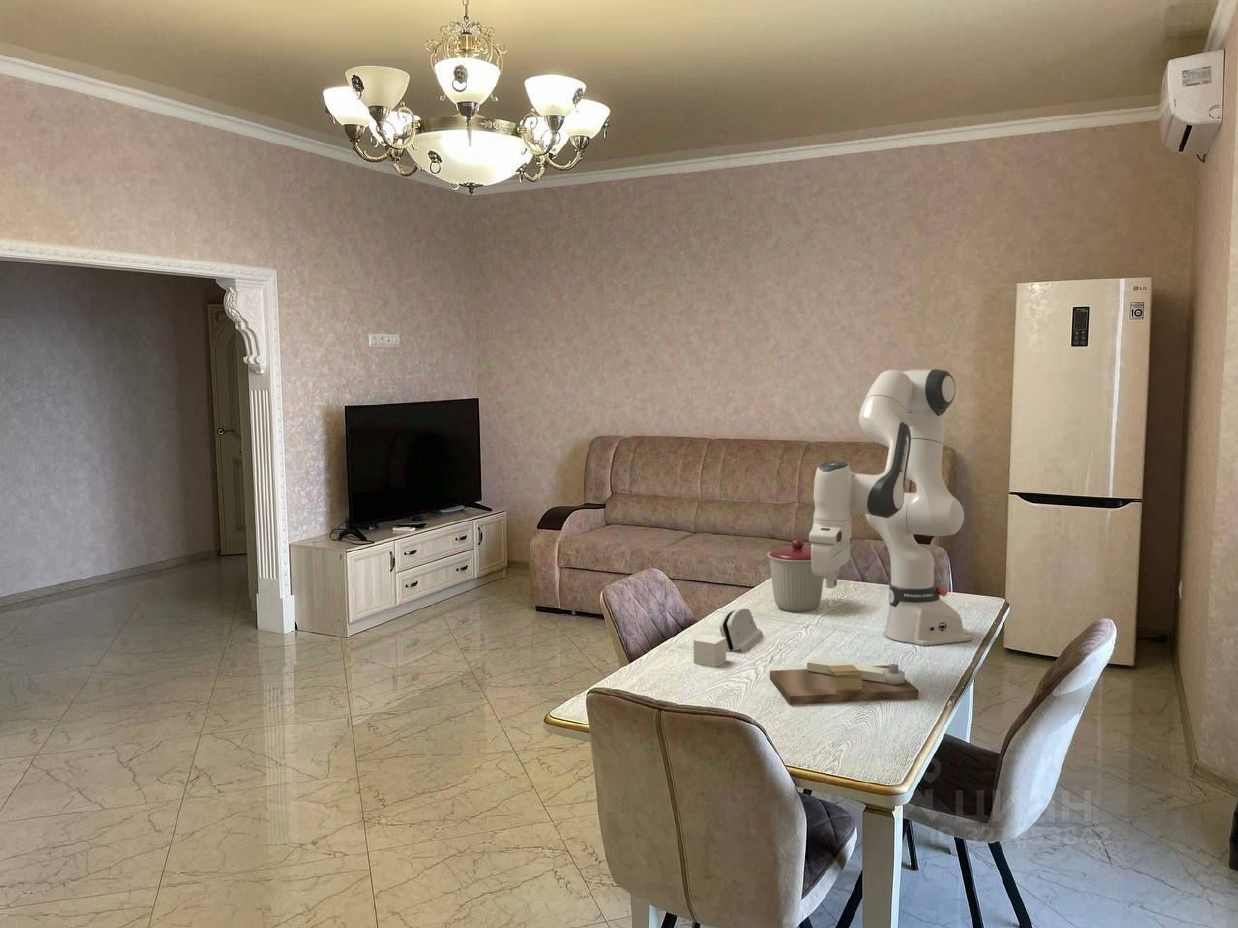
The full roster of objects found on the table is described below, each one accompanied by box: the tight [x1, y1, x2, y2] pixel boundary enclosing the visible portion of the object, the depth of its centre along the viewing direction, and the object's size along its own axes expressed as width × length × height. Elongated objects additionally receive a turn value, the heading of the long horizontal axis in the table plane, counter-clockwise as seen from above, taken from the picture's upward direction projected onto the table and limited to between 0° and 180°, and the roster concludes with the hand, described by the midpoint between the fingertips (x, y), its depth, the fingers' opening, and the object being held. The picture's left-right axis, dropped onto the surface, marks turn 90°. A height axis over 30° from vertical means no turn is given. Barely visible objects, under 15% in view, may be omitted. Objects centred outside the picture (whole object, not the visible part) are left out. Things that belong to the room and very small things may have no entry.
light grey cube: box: [693, 633, 727, 668], centre depth 230 cm, size 6×6×6 cm
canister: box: [766, 538, 825, 613], centre depth 279 cm, size 18×18×21 cm
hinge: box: [718, 608, 765, 654], centre depth 245 cm, size 17×5×10 cm, turn 153°
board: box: [769, 664, 920, 706], centre depth 210 cm, size 29×17×2 cm, turn 95°
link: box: [806, 657, 906, 685], centre depth 212 cm, size 22×5×4 cm, turn 60°
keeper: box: [827, 665, 862, 692], centre depth 205 cm, size 6×6×4 cm
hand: (831, 587), depth 220 cm, fingers closed
